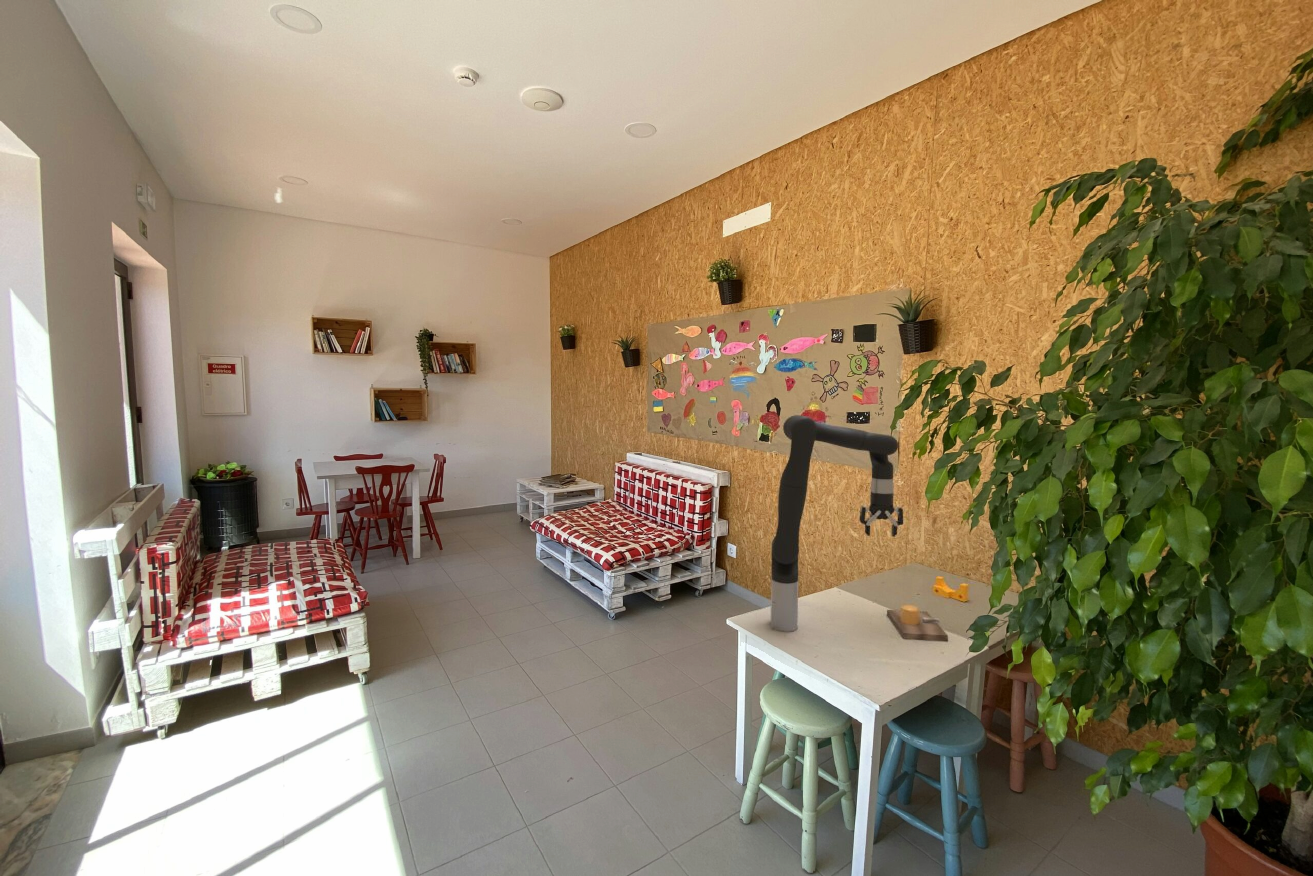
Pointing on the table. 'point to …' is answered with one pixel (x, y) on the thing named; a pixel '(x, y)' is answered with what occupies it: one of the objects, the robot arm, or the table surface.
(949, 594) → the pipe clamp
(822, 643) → the table surface
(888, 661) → the table surface
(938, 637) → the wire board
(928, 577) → the table surface
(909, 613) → the orange rounded block
